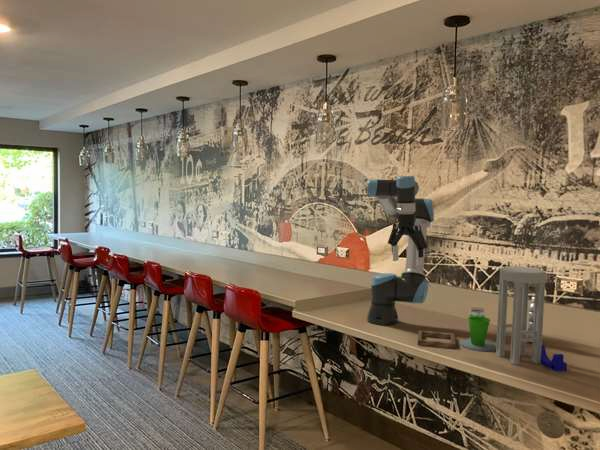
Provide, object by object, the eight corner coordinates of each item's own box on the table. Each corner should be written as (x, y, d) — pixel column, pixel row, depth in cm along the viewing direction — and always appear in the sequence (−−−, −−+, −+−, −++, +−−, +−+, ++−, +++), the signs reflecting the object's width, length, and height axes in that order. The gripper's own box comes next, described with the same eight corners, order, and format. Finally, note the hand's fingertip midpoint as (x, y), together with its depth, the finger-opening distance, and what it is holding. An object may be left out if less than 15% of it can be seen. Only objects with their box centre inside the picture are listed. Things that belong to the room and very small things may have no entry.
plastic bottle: (541, 341, 212) (543, 295, 210) (543, 345, 205) (546, 299, 204) (524, 339, 214) (527, 294, 212) (526, 344, 207) (529, 297, 206)
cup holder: (417, 344, 203) (417, 340, 203) (418, 334, 218) (418, 330, 218) (455, 348, 199) (455, 343, 199) (453, 338, 214) (454, 333, 214)
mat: (453, 341, 208) (453, 340, 208) (481, 339, 213) (481, 338, 213) (474, 352, 195) (474, 351, 195) (503, 349, 199) (503, 348, 199)
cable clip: (566, 371, 177) (567, 355, 176) (555, 371, 176) (556, 355, 176) (545, 359, 189) (546, 344, 188) (534, 360, 188) (535, 344, 188)
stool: (488, 353, 195) (492, 266, 192) (522, 351, 198) (527, 265, 195) (512, 367, 180) (517, 272, 177) (549, 364, 183) (554, 272, 180)
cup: (491, 348, 199) (492, 322, 198) (467, 346, 200) (469, 320, 200) (487, 342, 207) (488, 316, 207) (464, 340, 209) (466, 315, 208)
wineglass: (484, 334, 220) (485, 308, 219) (483, 338, 214) (484, 311, 213) (468, 332, 223) (470, 306, 222) (467, 336, 217) (468, 309, 216)
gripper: (379, 212, 213) (380, 260, 215) (422, 215, 192) (423, 268, 195) (391, 210, 217) (392, 257, 219) (435, 213, 196) (436, 265, 199)
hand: (407, 262), depth 207 cm, fingers open, 13 cm apart
